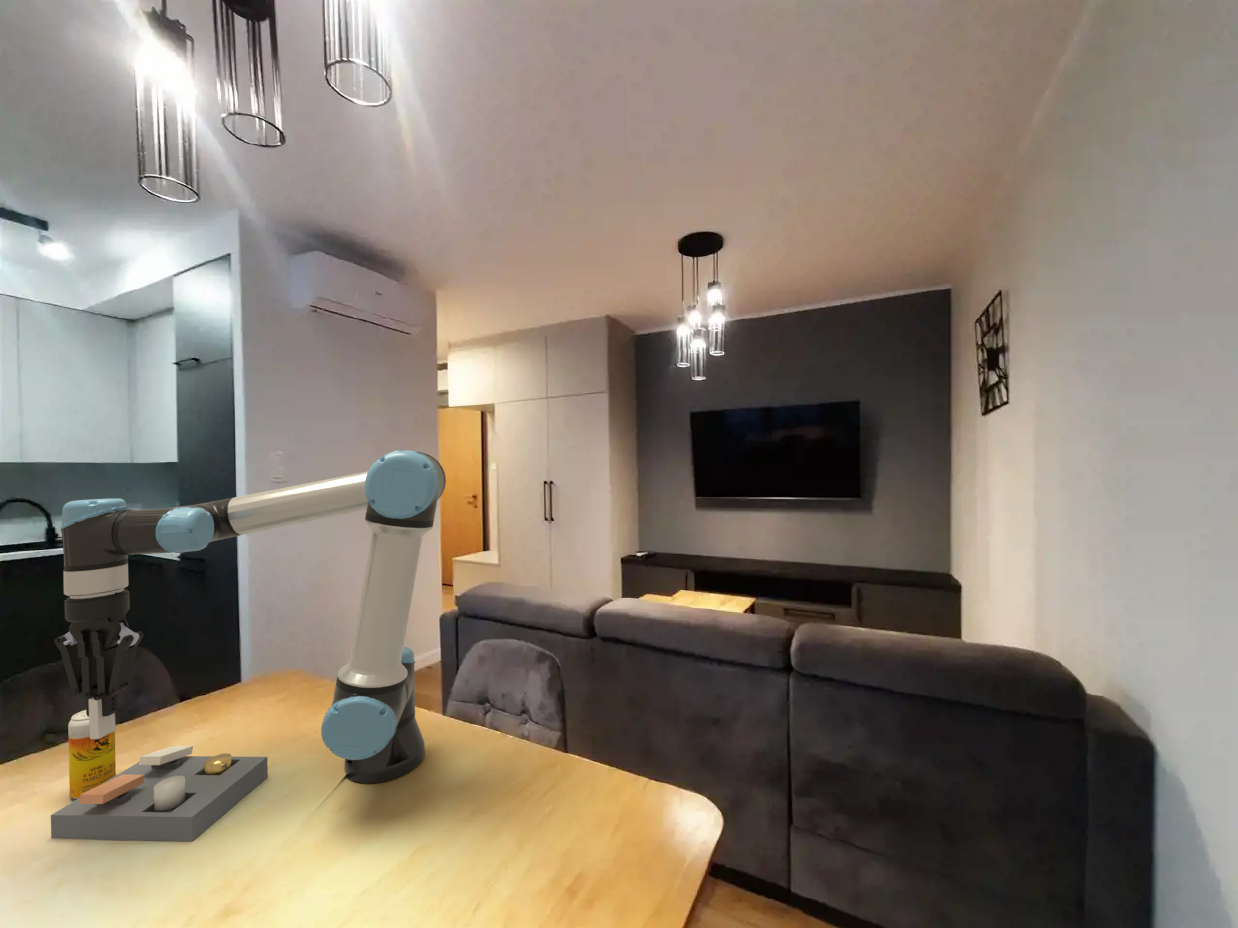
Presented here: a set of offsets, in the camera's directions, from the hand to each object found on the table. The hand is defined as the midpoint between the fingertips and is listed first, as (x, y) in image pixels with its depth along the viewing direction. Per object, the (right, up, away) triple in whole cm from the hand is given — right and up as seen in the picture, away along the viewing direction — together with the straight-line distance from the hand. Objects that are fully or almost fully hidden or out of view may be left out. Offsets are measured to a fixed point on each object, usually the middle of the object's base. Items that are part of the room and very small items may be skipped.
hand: (102, 734), depth 85 cm
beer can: (-13, -17, +12) cm, 25 cm away
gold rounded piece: (+10, -15, +12) cm, 21 cm away
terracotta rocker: (-1, -11, +2) cm, 11 cm away
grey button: (+9, -13, +2) cm, 16 cm away
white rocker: (0, -11, +12) cm, 16 cm away
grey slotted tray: (+5, -17, +7) cm, 19 cm away
